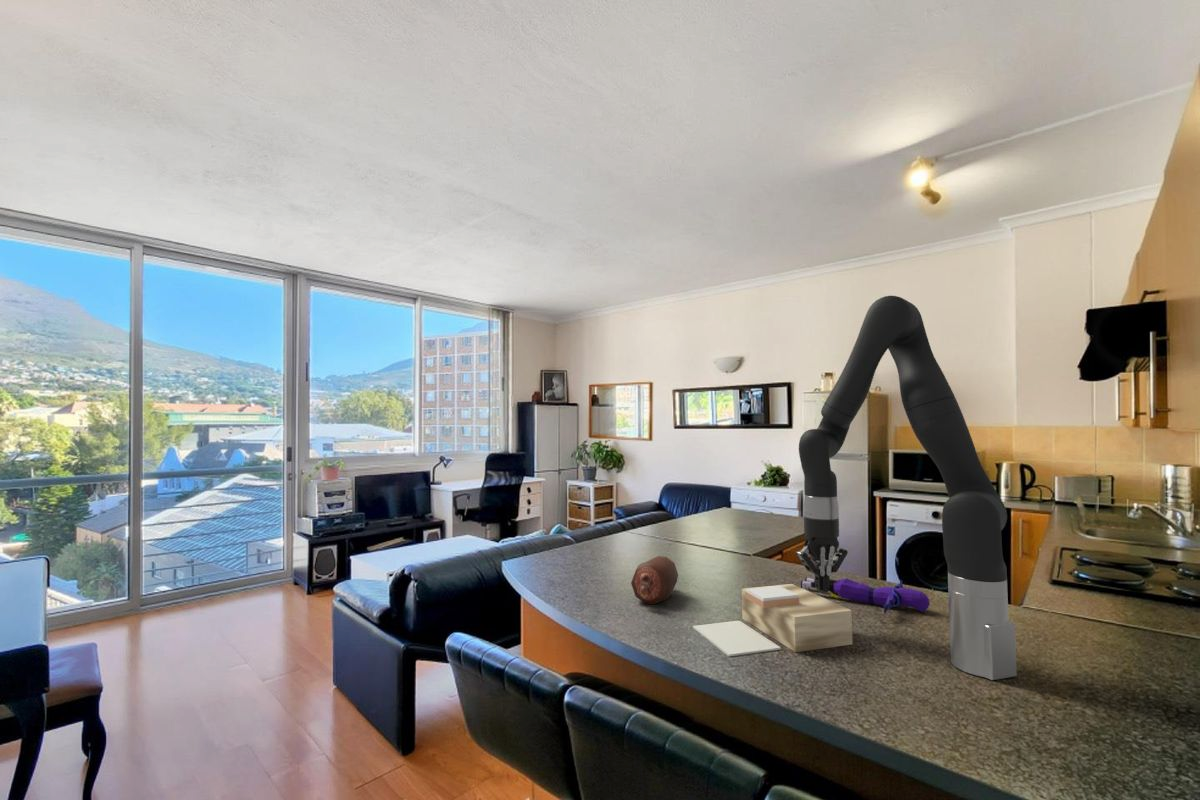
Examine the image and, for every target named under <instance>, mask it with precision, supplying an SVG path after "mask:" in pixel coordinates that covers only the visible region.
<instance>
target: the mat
mask: <svg viewBox="0 0 1200 800" xmlns="http://www.w3.org/2000/svg"><path fill="white" fill-rule="evenodd" d="M692 628H693V630H694V631H696V632H697V633H698V634H700V635H701V636H702V637H703V638H705V639H706V640H707V641H709V642H710V643H711V644H712V645H713V646H715V648H718V649H719V650H720V651H721V652H722V653H724V654H725V655H726V656H727V657H734V656H743V655H751V654H757V653H765V652H766V653H767V652H771V651H772V652H773V651H778V650H779V651H781V648H782V647H781V646H779V645H778V644H776V643H775V642H773V641H771V640H770V639H768V638H767V637H765V636H764V635H762V633H760V632H758V631H757V630H755V629H753V628H752V627H750V626H749V625H747V624H745V623H744V622H742V621H741V620H733V621H731V620H730V621H725V622H715V623H708V624H698V625H693V626H692Z"/></svg>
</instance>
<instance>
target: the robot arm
mask: <svg viewBox="0 0 1200 800" xmlns="http://www.w3.org/2000/svg"><path fill="white" fill-rule="evenodd" d="M887 350H888V351H889V353H890V356H891V357H892V359H893V361H894V364H895V367H896V370H897V374H898V382H899V390H900V397H901V402H902V406H903V409H904V412H905V414H906V416H907V419H908V422H909V424H910V427H911V428H912V431H913V434H914V435H915V437H916V439H917V440H918V441H919V444H920V445H921V446H922V448H923V449H924V450H925V452H926V453H927V455H928V456H929V457H930V458H931V460H932V461H933V463H934V464H935V466H936V467H937V469H938V470H939V471H938V472H939V473H940V475H941V477H942V480H943V483H944V485H945V489H946V492H947V495H948V499H947V500H946V501H945V503H944V505H943V507H942V512H941V527H942V542H943V554H944V558H945V562H946V564H947V585H948V590H947V592H948V613H949V615H948V616H949V641H950V660H951V664H952V666H954V667H955V668H956V669H959V670H960V671H962V672H965V673H968V674H970V675H974V676H978V677H982V678H986V679H989V680H990V681H995V680H1002V679H1007V678H1013V677H1017V676H1018V671H1017V669H1018V668H1017V653H1016V652H1017V650H1016V649H1017V647H1016V633H1015V632H1016V628H1015V627H1016V626H1015V623H1014V622H1012V621H1010V620H1009V619H1010V618H1009V600H1008V596H1009V595H1008V575H1007V572H1008V571H1007V565H1006V563H1005V561H1004V556H1003V543H1002V531H1003V530H1004V528H1005V527H1006V524H1007V520H1008V512H1007V509H1006V507H1005V504H1004V502H1003V500H1002V499H1001V497H1000V495H999V494H998V492H997V490H996V488H995V487H994V485H993V483H992V482H991V480H990V478H989V476H988V475H987V473H986V471H985V468H984V467H983V466H982V465H983V464H982V462H981V461H980V459H979V456H978V452H977V450H976V447H975V443H974V441H973V438H972V436H971V433H970V430H969V427H968V425H967V423H966V419H965V417H964V415H963V412H962V408H960V407H961V406H960V405H959V403H958V401H957V398H956V396H955V394H954V392H953V389H952V388H951V386H950V384H949V382H948V379H947V378H946V376H945V374H944V371H942V368H941V367H940V365H939V362H938V361H937V359H936V357H935V356H934V353H933V350H932V348H931V345H930V341H929V338H928V335H927V331H926V328H925V324H924V320H923V317H922V314H921V313H920V311H919V309H918V308H917V306H916V305H914V304H913V303H911V302H910V301H908V300H907V299H905V298H903V297H901V296H897V295H886V296H885V295H884V296H883V297H880V298H879V299H876V300H875V301H874V302H873V303H872V304H871V305H870V306H869V308H868V309H867V311H866V314H865V316H864V319H863V321H862V324H861V327H860V330H859V333H858V336H857V338H856V341H855V343H854V346H853V348H852V350H851V353H850V355H849V357H848V360H847V362H846V363H845V366H844V367H843V370H842V372H841V373H840V376H839V377H838V379H837V381H836V382H835V385H834V386H833V388H832V390H831V392H829V395H828V396H827V398H826V400H825V402H824V403H823V406H822V407H821V410H820V414H821V416H822V418H821V420H820V422H819V424H818V427H817V428H812V429H808V430H806V431H805V432H803V433H802V434H801V436H800V438H799V441H798V455H799V460H800V463H801V464H800V465H801V469H802V471H803V475H804V482H803V483H804V484H803V485H804V486H803V487H804V489H803V490H804V493H803V495H804V498H803V499H804V500H803V533H804V536H805V541H804V543H803V547H802V549H800V550H796V551H795V556H796V557H797V558H798V560H799V561H800V562H801V564H802V565H803V566H804V568H805V569H806V571H807V572H809V573H812V574H814V579H815V587H816V588H815V589H816V591H817V592H819V593H821V594H822V593H823V594H824V593H828V592H829V591H828V589H829V588H830V585H829V584H830V583H829V582H830V580H831V579H830V576H831V575H832V574H833V573H837V572H838V570H839V568H840V567H841V565H842V564H843V562H844V560H845V558H846V557H847V555H848V550H847V549H845V548H842V547H841V546H840V542H839V539H838V538H839V537H840V512H839V511H840V510H839V509H840V508H839V501H838V481H837V474H836V473H835V472H834V471H832V469H831V462H830V461H831V458H832V457H834V456H836V454H838V453H839V451H840V450H841V449H842V447H843V445H844V442H845V440H846V437H847V435H848V432H849V429H850V427H851V423H852V422H853V420H854V419H856V418H855V417H856V416H857V414H858V413H859V411H860V409H861V408H862V405H863V404H864V402H865V401H866V399H867V397H868V394H869V393H870V389H871V386H872V382H873V380H874V376H875V375H876V374H875V373H876V370H877V368H878V366H879V364H880V361H881V360H882V358H883V356H885V354H886V352H887Z"/></svg>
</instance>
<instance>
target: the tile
mask: <svg viewBox="0 0 1200 800" xmlns="http://www.w3.org/2000/svg"><path fill="white" fill-rule="evenodd" d="M773 586H774V587H765V586H763V587H764V588H754V587H753V588H754V589H746V592H745V594H746V599H748V600H750V601H752V602H753V603H755V604H757V605H759V606H760V607H762V608H769V607H778V606H787V605H797V604H799V596H798V594H796V593H794V592H791V591H789V590H787V589H785V588H783V587H781V586H775V585H773Z"/></svg>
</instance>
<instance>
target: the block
mask: <svg viewBox="0 0 1200 800" xmlns="http://www.w3.org/2000/svg"><path fill="white" fill-rule="evenodd" d="M774 586H781V587H783V588H785V589H787V590H789V591H791V592H794V593H796V594H798V596H799V604H797V605H787V606H778V607H769V608H762V607H760V606H759V605H757V604H755V603H753V602H752V601H750V600H748V599H746V594H745V592H746V589H754V588H764V587H774ZM741 611H742V612H741V616H742V619H743V620H744V621H745V622H747V623H748V624H750V625H752V626H754V627H755V628H756V629H758V630H760V631H761V632H763V633H765V634H766V635H767V636H769V637H771V638H772V639H774V640H775V641H777V642H778V643H780V644H781V645H783V646H784V647H786V648H788V649H789V650H790V651H793V652H794V653H801V652H807V651H808V652H809V651H814V650H823V649H828V648H835V647H842V646H849V645H853V618H852V617H853V616H852V613H853V612H852V610H851V609H850V608H847V607H844V606H843V605H841V604H839V603H836V602H834V601H832V600H830V599H827V598H825V597H822V596H820V595H819V594H816V593H813V592H811V591H809V590H805V589H802V588H801V586H799V585H796V584H793V583H789V584H788V583H787V584H786V583H785V584H778V585H768V586H767V585H765V586H758V587H757V586H756V587H747V588H746V587H745V588H741Z"/></svg>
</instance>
